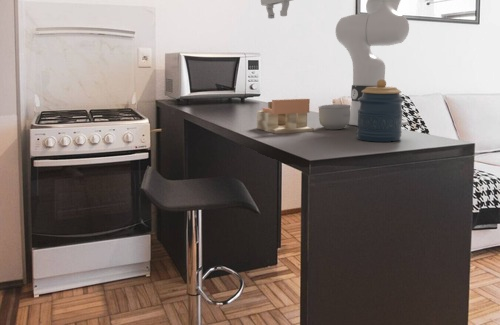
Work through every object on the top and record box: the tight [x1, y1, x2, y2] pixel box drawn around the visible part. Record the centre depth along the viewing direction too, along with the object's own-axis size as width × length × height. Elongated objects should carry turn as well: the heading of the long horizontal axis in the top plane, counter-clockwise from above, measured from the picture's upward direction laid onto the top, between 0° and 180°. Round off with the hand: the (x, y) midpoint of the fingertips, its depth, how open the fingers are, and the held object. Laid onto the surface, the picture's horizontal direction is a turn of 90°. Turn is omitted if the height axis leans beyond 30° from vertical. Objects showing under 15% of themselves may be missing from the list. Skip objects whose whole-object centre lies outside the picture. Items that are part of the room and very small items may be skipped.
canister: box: [356, 79, 404, 143], centre depth 144 cm, size 13×13×18 cm
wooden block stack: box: [256, 101, 314, 134], centre depth 165 cm, size 14×15×9 cm
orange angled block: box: [262, 98, 310, 114], centre depth 164 cm, size 10×13×4 cm
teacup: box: [317, 103, 351, 130], centre depth 170 cm, size 14×11×8 cm
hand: (277, 17), depth 164 cm, fingers open, 8 cm apart
